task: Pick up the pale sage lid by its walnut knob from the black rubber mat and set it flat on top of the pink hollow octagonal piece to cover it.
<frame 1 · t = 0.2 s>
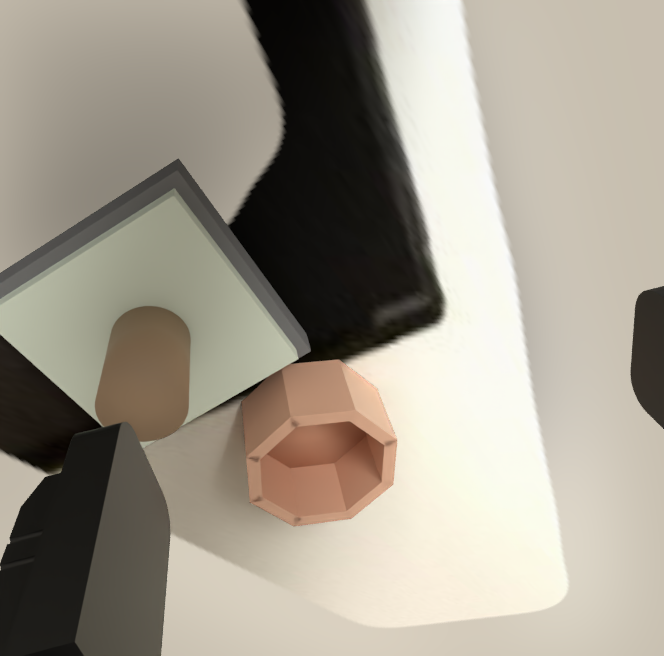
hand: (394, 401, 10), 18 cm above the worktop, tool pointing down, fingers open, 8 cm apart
pink hollow octagonal piece: (310, 417, 32), on the worktop
lid: (152, 329, 26), point 1 cm above the worktop, touching mat
mat: (154, 312, 28), on the worktop
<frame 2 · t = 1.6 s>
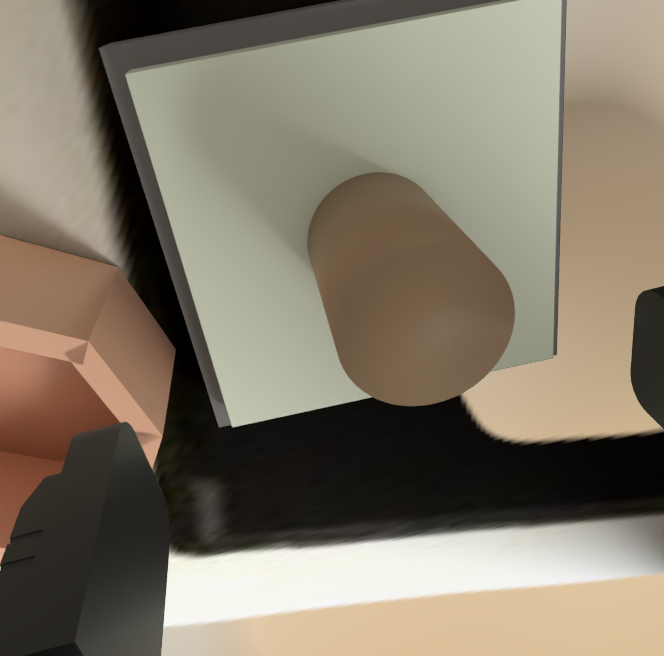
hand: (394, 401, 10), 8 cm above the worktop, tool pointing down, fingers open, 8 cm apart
pink hollow octagonal piece: (39, 362, 17), on the worktop
lid: (367, 228, 15), point 1 cm above the worktop, touching mat
mat: (357, 209, 17), on the worktop
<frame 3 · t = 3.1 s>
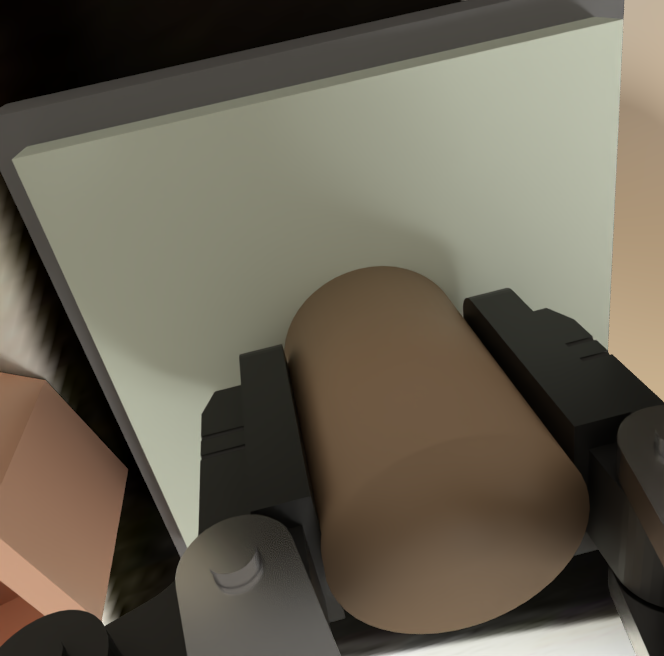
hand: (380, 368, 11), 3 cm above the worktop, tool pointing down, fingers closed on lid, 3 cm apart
lid: (363, 327, 12), point 2 cm above the worktop, touching gripper, mat
mat: (348, 293, 13), on the worktop
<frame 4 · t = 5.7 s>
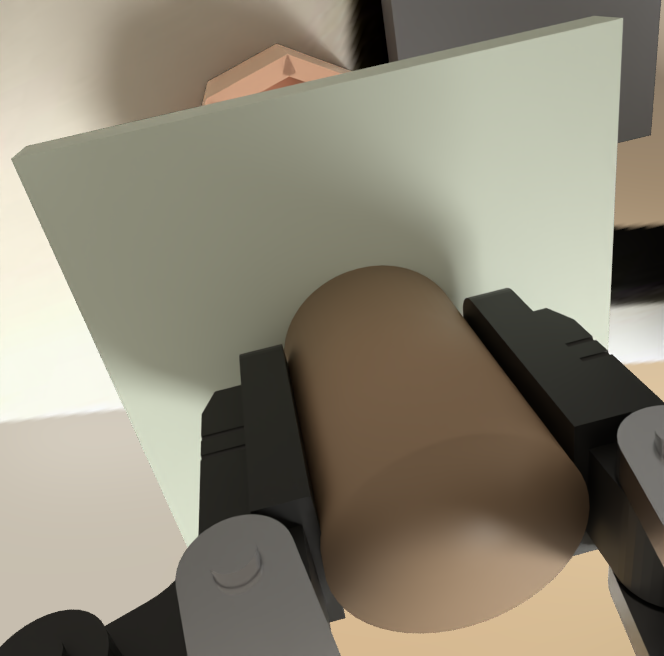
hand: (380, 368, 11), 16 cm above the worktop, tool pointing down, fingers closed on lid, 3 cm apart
pink hollow octagonal piece: (285, 148, 25), on the worktop
lid: (363, 326, 12), point 15 cm above the worktop, touching gripper
mat: (513, 25, 24), on the worktop
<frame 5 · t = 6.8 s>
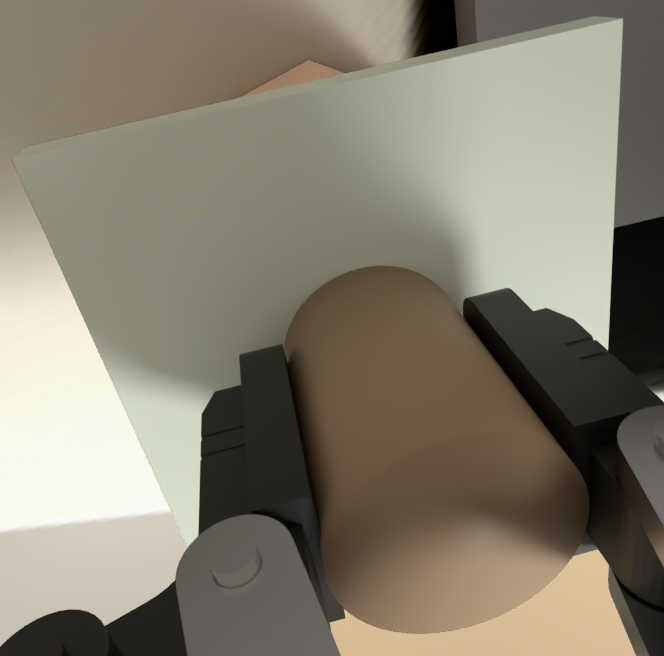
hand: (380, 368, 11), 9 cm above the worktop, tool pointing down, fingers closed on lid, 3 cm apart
pink hollow octagonal piece: (317, 198, 18), on the worktop
lid: (363, 327, 12), point 8 cm above the worktop, touching gripper
mat: (630, 36, 17), on the worktop
when the fingers open (7 cm above the worktop, at t = 8.0 s): lid drops 1 cm, resting on pink hollow octagonal piece.
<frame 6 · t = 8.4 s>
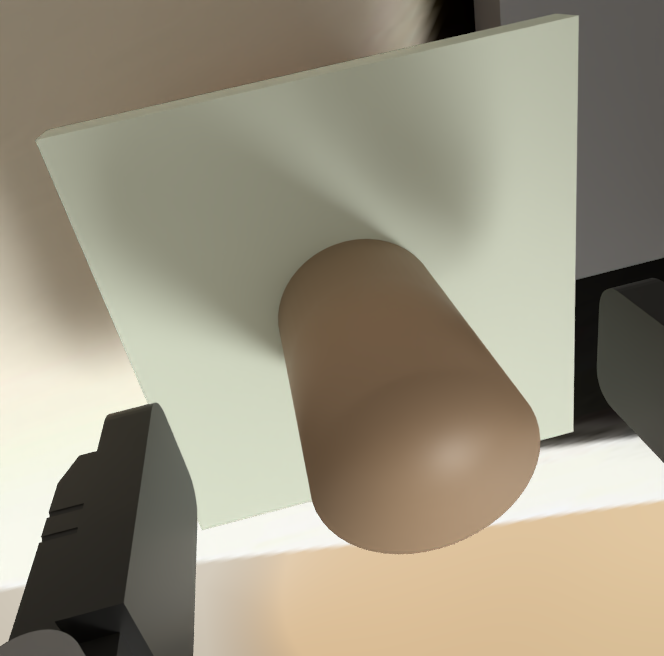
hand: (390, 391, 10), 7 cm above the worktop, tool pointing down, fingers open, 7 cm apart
lid: (351, 297, 13), point 4 cm above the worktop, touching pink hollow octagonal piece
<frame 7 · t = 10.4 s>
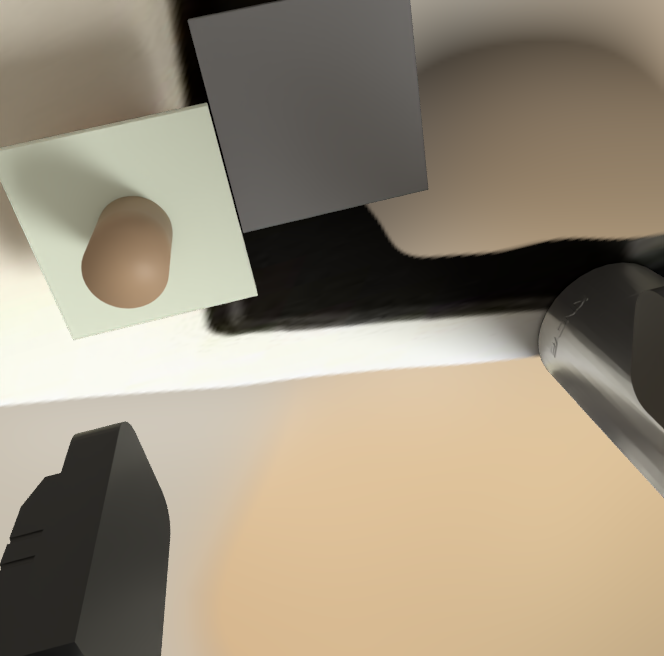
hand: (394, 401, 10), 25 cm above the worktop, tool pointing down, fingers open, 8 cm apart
lid: (137, 225, 28), point 4 cm above the worktop, touching pink hollow octagonal piece
mat: (314, 108, 31), on the worktop
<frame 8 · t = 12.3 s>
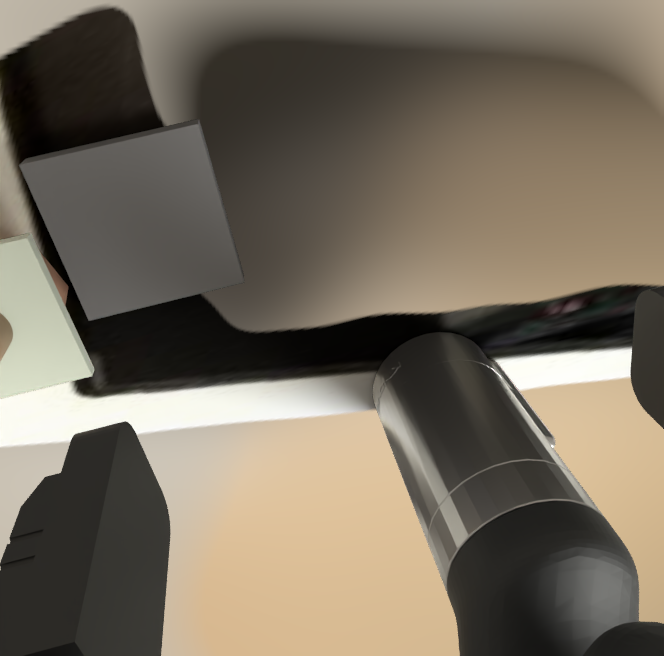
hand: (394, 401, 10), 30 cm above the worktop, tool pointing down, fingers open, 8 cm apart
pink hollow octagonal piece: (5, 294, 39), on the worktop
mat: (142, 220, 38), on the worktop
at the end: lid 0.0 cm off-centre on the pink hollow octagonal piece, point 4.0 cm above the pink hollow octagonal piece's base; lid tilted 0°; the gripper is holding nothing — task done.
